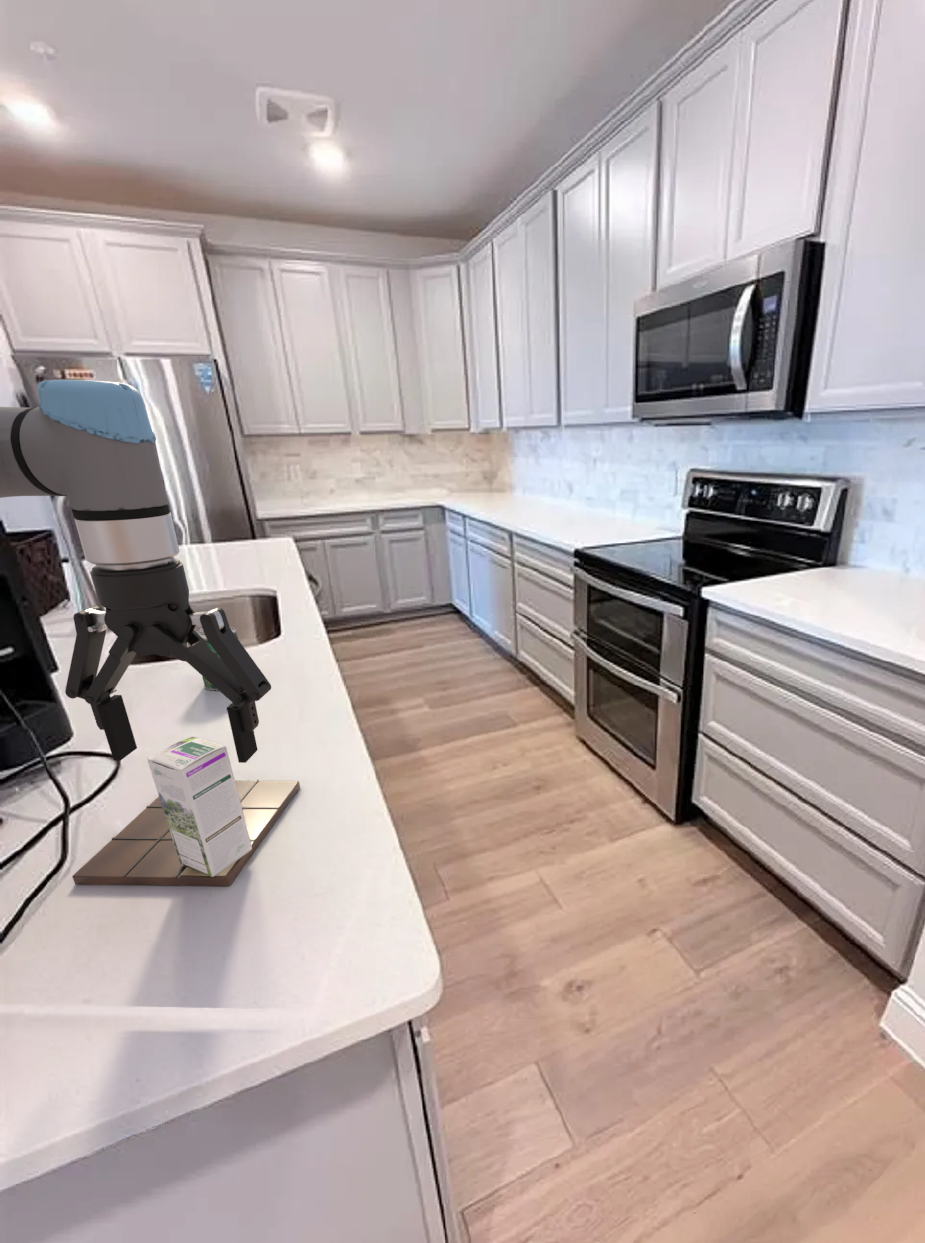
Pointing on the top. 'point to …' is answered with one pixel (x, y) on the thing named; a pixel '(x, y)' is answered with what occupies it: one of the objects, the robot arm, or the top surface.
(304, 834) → the top surface
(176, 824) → the syrup box
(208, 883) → the game board
